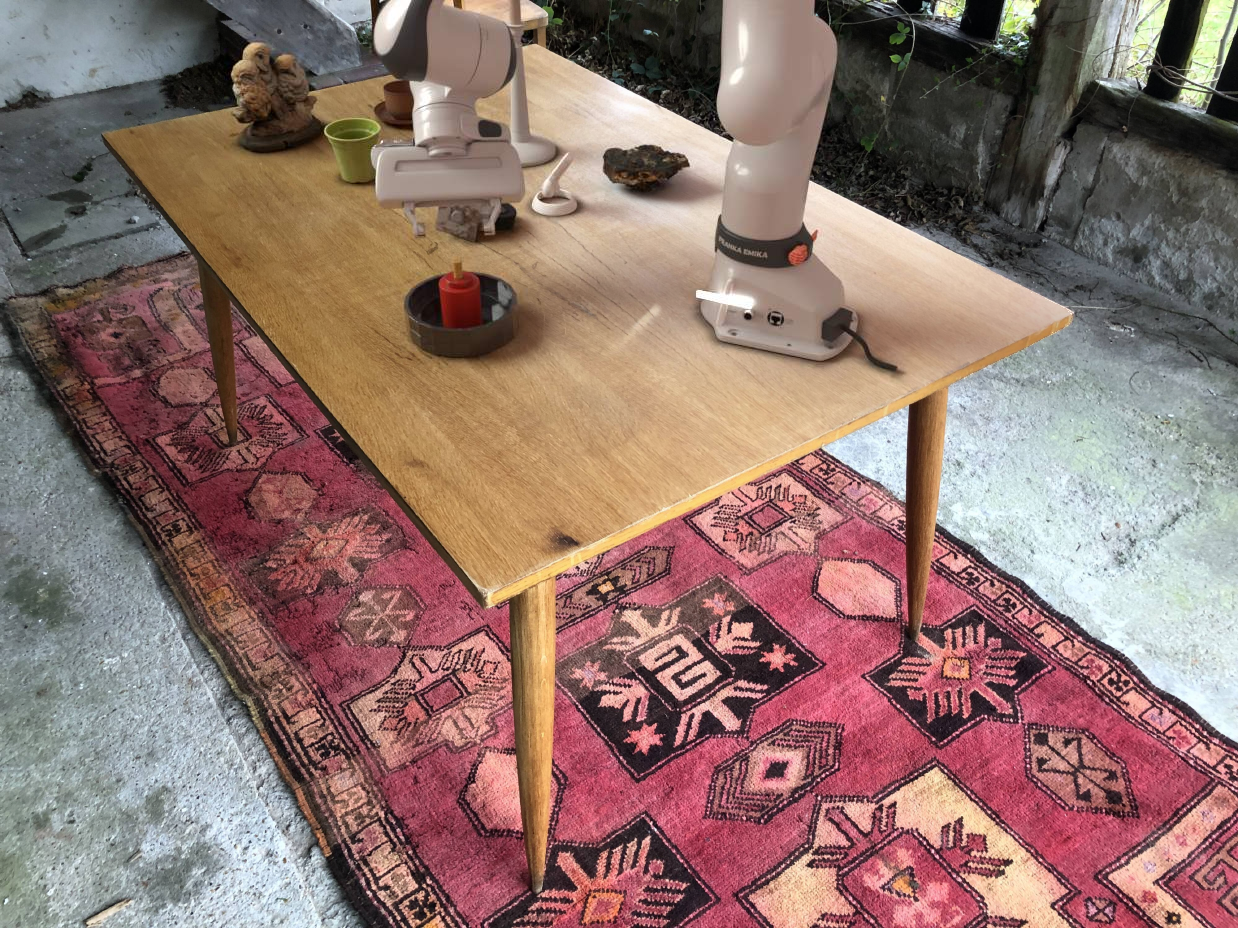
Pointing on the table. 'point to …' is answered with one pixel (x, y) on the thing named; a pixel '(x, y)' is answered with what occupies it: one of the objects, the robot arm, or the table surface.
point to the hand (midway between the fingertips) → (455, 235)
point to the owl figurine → (272, 101)
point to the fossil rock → (642, 166)
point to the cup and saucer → (396, 103)
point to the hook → (555, 192)
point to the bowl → (461, 342)
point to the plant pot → (354, 147)
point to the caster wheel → (472, 219)
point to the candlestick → (524, 103)
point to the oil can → (460, 298)
